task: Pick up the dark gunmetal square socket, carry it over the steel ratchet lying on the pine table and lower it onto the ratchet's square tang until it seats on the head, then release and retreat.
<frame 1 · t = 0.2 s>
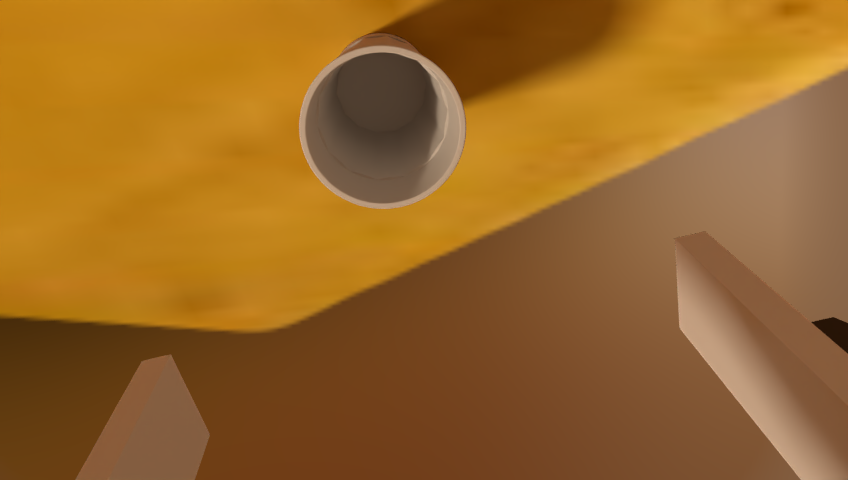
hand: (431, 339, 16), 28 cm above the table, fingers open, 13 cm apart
cup: (381, 83, 41), on the table
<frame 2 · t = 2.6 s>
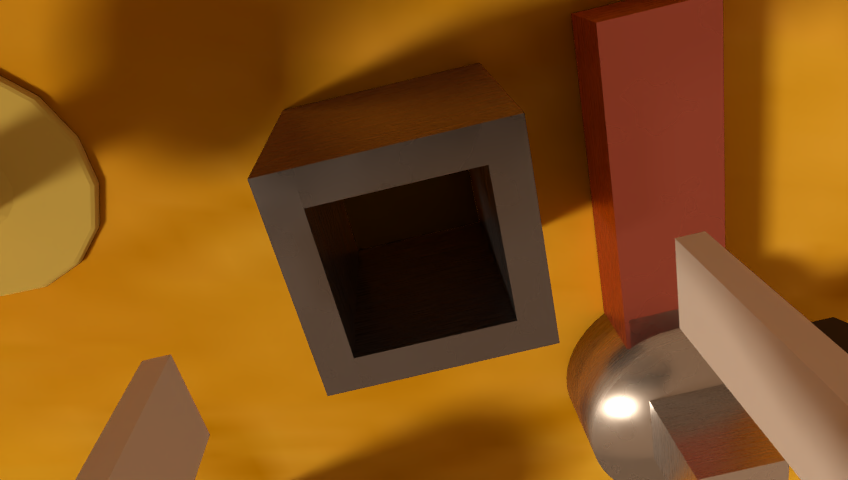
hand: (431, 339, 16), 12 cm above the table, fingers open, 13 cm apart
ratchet: (643, 229, 28), on the table
socket: (404, 179, 27), on the table
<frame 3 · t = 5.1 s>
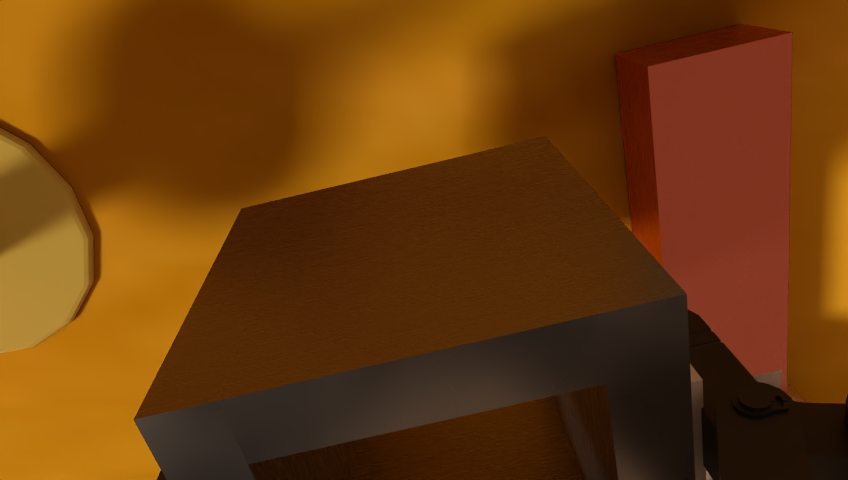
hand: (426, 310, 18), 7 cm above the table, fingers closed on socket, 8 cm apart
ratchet: (691, 287, 26), on the table
socket: (426, 303, 18), point 7 cm above the table, touching gripper
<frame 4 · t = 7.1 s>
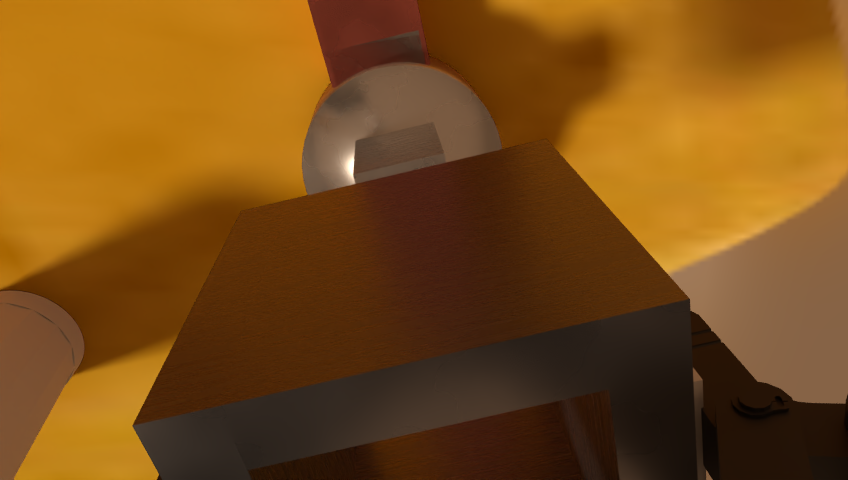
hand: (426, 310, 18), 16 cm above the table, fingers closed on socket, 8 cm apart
cup: (26, 337, 35), on the table
socket: (426, 305, 18), point 16 cm above the table, touching gripper
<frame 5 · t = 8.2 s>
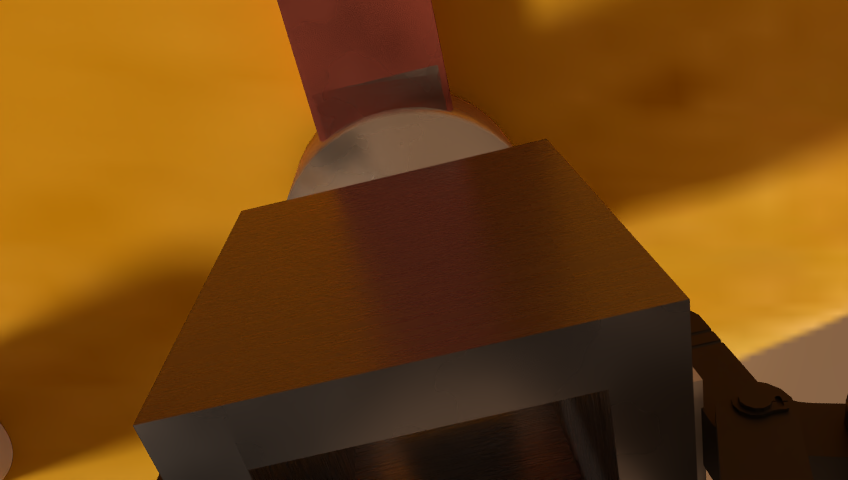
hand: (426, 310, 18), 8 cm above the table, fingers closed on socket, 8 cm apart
socket: (426, 305, 18), point 8 cm above the table, touching gripper
when the fingers open (5 cm above the table, at t = 9.2 s): socket stays where it is, resting on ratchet.
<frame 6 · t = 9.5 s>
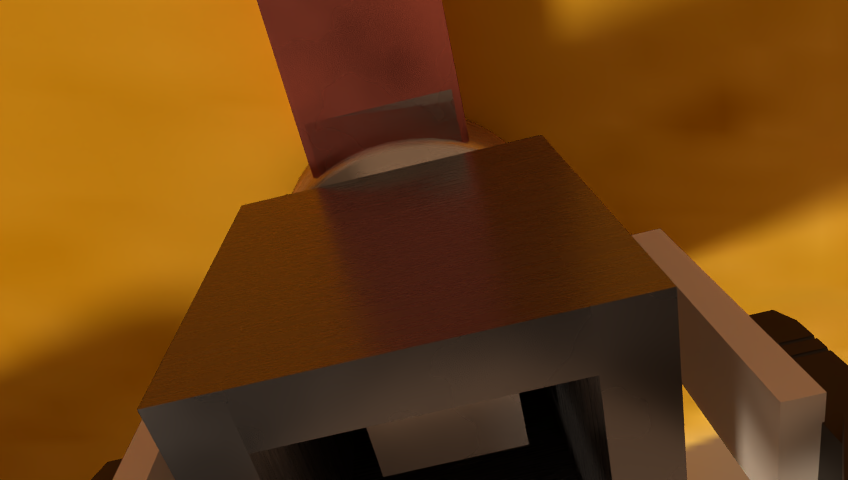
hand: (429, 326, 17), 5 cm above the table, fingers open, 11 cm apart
socket: (423, 299, 18), point 4 cm above the table, touching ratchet
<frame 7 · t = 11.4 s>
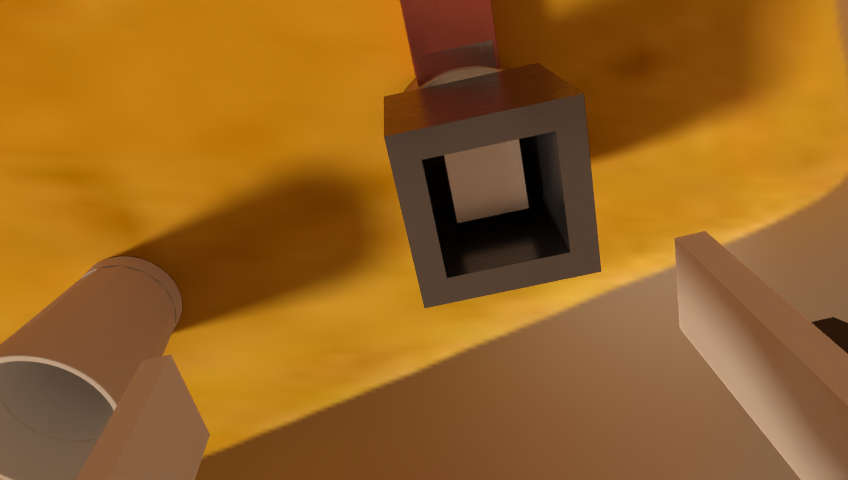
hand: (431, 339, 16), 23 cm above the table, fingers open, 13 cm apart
cup: (132, 299, 41), on the table
socket: (473, 154, 34), point 4 cm above the table, touching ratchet
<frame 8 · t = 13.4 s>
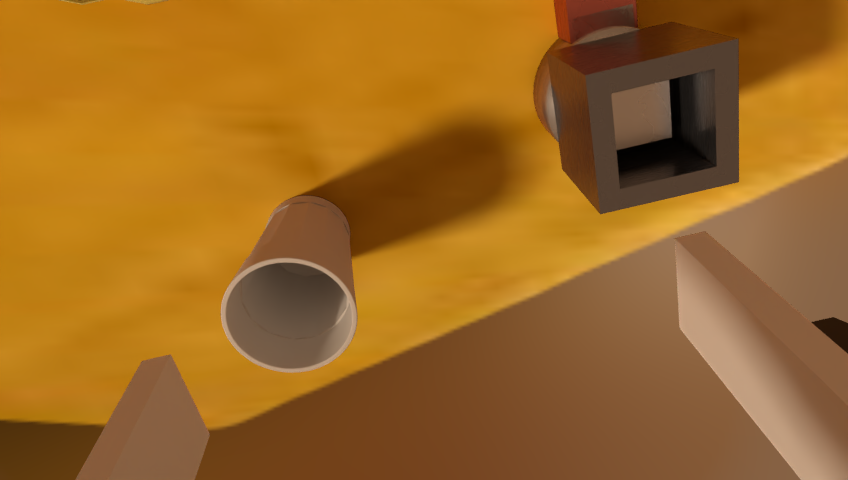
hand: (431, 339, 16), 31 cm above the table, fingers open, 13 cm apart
cup: (309, 233, 48), on the table
socket: (614, 98, 41), point 4 cm above the table, touching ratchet
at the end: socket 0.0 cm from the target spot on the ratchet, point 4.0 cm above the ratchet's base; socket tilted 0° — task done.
